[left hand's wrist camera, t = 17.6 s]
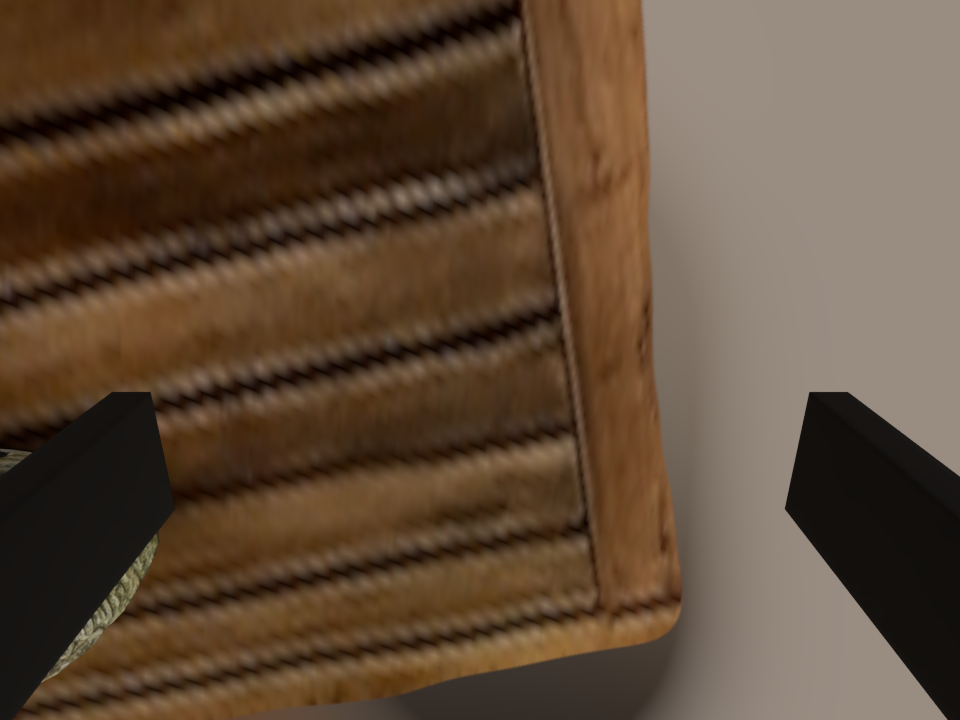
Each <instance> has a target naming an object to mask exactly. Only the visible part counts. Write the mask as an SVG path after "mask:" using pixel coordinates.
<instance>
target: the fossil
mask: <svg viewBox="0 0 960 720" xmlns="http://www.w3.org/2000/svg"><path fill="white" fill-rule="evenodd" d="M31 453H32V452H26V451H19V450H9V449H0V476H2V475H3V474H4V473H6V472H7V471H8V470H10V469H11V468H12V467H14V466H15V465H16V464H18V463H19V462H20V461H22V460H23V459H24V458H26V457H27V456H28V455H30V454H31ZM158 544H159V534H158V532H157V533H156V534H155V536H154V537H153V538H152V540H151V541H150V542H149V543H148V545H147V546H146V547H145V549H144V550H143V551H142V553H141V554H140V555H139V556H138V558H137V559H136V560H135V562H134V563H133V564H132V565H131V567H130V568H129V569H128V571H127V572H126V573H125V575H124V576H123V577H122V578H121V580H120V581H119V582H118V584H117V585H116V586H115V587H114V589H113V590H112V591H111V593H110V594H109V595H108V597H107V598H106V599H105V600H104V602H103V603H102V604H101V606H100V607H99V608H98V610H97V611H96V612H95V613H94V615H93V616H92V617H91V619H90V620H89V621H88V622H87V624H86V625H85V626H84V628H83V629H82V630H81V632H80V633H79V634H78V635H77V637H76V638H75V639H74V641H73V642H72V643H71V644H70V646H69V647H68V648H67V650H66V651H65V652H64V654H63V655H62V656H61V657H60V659H59V660H58V661H57V663H56V664H55V665H54V666H53V668H52V669H51V670H50V672H49V673H48V674H47V676H46V677H45V678H44V679H43V681H45V680H46V679H48V678H50V677H52V676H54V675H56V674H58V673H59V672H60V671H62V670H63V669H64V668H65V667H67V666H68V665H69V664H71V663H72V662H74V661H75V660H76V659H78V658H79V657H81V656H82V655H83V654H84V653H85V652H86V651H87V650H88V649H89V648H90V647H91V646H93V645H94V644H95V643H96V641H97V640H98V639H99V638H100V636H101V634H102V632H103V631H104V629H105V628H106V627H107V626H109V625H110V624H111V623H112V622H113V621H114V620H115V619H116V618H117V617H118V616H119V615H120V614H121V613H122V612H123V611H124V610H125V607H126V606H127V604H128V603H129V602H130V599H131V598H132V596H133V595H134V593H135V592H136V590H137V588H138V586H139V585H140V583H141V581H142V579H143V578H144V576H145V575H146V573H147V571H148V569H149V567H150V565H151V561H152V559H153V558H154V557H155V554H156V550H157V547H158ZM43 681H42V682H43Z"/></svg>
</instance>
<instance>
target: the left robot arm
mask: <svg viewBox="0 0 960 720" xmlns="http://www.w3.org/2000/svg"><path fill="white" fill-rule="evenodd" d="M174 510H175V506H174V501H173V496H172V492H171V487H170V482H169V477H168V473H167V468H166V463H165V458H164V454H163V449H162V444H161V439H160V435H159V430H158V425H157V420H156V416H155V411H154V406H153V401H152V397H151V392H112V393H110V394H109V395H108V396H106V397H105V398H104V399H102V400H101V401H100V402H98V403H97V404H96V405H94V406H93V407H92V408H90V409H89V410H88V411H86V412H85V413H84V414H82V415H81V416H80V417H78V418H77V419H76V420H75V421H73V422H72V423H71V424H69V425H68V426H67V427H65V428H64V429H63V430H61V431H60V432H59V433H57V434H56V435H55V436H53V437H52V438H51V439H49V440H48V441H47V442H45V443H44V444H43V445H41V446H40V447H39V448H37V449H36V450H35V451H34V452H32V453H31V454H30V455H28V456H27V457H26V458H24V459H23V460H22V461H20V462H19V463H18V464H16V465H15V466H14V467H12V468H11V469H10V470H8V471H7V472H6V473H4V474H3V475H2V476H0V720H13V718H14V717H15V716H16V714H17V713H18V712H19V711H20V709H21V708H22V707H23V705H24V704H25V703H26V701H27V700H28V699H29V698H30V696H31V695H32V694H33V692H34V691H35V690H36V689H37V687H38V686H39V685H40V683H41V682H42V681H43V679H44V678H45V677H46V676H47V674H48V673H49V672H50V670H51V669H52V668H53V666H54V665H55V664H56V663H57V661H58V660H59V659H60V657H61V656H62V655H63V654H64V652H65V651H66V650H67V648H68V647H69V646H70V644H71V643H72V642H73V641H74V639H75V638H76V637H77V635H78V634H79V633H80V632H81V630H82V629H83V628H84V626H85V625H86V624H87V622H88V621H89V620H90V619H91V617H92V616H93V615H94V613H95V612H96V611H97V610H98V608H99V607H100V606H101V604H102V603H103V602H104V600H105V599H106V598H107V597H108V595H109V594H110V593H111V591H112V590H113V589H114V587H115V586H116V585H117V584H118V582H119V581H120V580H121V578H122V577H123V576H124V575H125V573H126V572H127V571H128V569H129V568H130V567H131V565H132V564H133V563H134V562H135V560H136V559H137V558H138V556H139V555H140V554H141V553H142V551H143V550H144V549H145V547H146V546H147V545H148V543H149V542H150V541H151V540H152V538H153V537H154V536H155V534H156V533H157V532H158V530H159V529H160V528H161V527H162V525H163V524H164V523H165V521H166V520H167V519H168V518H169V516H170V515H171V514H172V512H173V511H174ZM785 510H786V511H787V512H788V514H789V515H790V516H791V518H792V519H793V520H794V521H795V523H796V524H797V525H798V527H799V528H800V529H801V530H802V532H803V533H804V534H805V536H806V537H807V538H808V540H809V541H810V542H811V543H812V545H813V546H814V547H815V549H816V550H817V551H818V552H819V554H820V555H821V556H822V558H823V559H824V560H825V562H826V563H827V564H828V565H829V567H830V568H831V569H832V571H833V572H834V573H835V574H836V576H837V577H838V578H839V580H840V581H841V582H842V584H843V585H844V586H845V587H846V589H847V590H848V591H849V593H850V594H851V595H852V597H853V598H854V599H855V600H856V602H857V603H858V604H859V606H860V607H861V608H862V609H863V611H864V612H865V613H866V615H867V616H868V617H869V618H870V620H871V621H872V622H873V624H874V625H875V626H876V628H877V629H878V630H879V632H880V633H881V634H882V635H883V637H884V638H885V639H886V641H887V642H888V643H889V644H890V646H891V647H892V648H893V650H894V651H895V652H896V654H897V655H898V656H899V657H900V659H901V660H902V661H903V663H904V664H905V665H906V666H907V668H908V669H909V670H910V672H911V673H912V674H913V676H914V677H915V678H916V679H917V681H918V682H919V683H920V685H921V686H922V687H923V689H924V690H925V691H926V692H927V694H928V695H929V696H930V698H931V699H932V700H933V701H934V703H935V704H936V705H937V707H938V708H939V709H940V710H941V712H942V713H943V714H944V716H945V717H946V718H947V720H960V476H958V475H957V474H956V473H954V472H953V471H952V470H950V469H949V468H948V467H946V466H945V465H944V464H942V463H941V462H940V461H938V460H937V459H936V458H934V457H933V456H932V455H930V454H929V453H928V452H926V451H925V450H924V449H922V448H921V447H920V446H919V445H917V444H916V443H914V442H913V441H912V440H911V439H909V438H908V437H907V436H905V435H904V434H903V433H901V432H900V431H899V430H897V429H896V428H895V427H893V426H892V425H891V424H889V423H888V422H887V421H885V420H884V419H883V418H882V417H880V416H879V415H878V414H876V413H875V412H874V411H872V410H871V409H870V408H868V407H867V406H866V405H864V404H863V403H862V402H860V401H859V400H858V399H856V398H855V397H854V396H852V395H851V394H850V393H848V392H809V397H808V401H807V406H806V411H805V416H804V420H803V425H802V430H801V435H800V439H799V444H798V449H797V454H796V458H795V463H794V468H793V473H792V477H791V482H790V487H789V492H788V496H787V501H786V506H785Z"/></svg>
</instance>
